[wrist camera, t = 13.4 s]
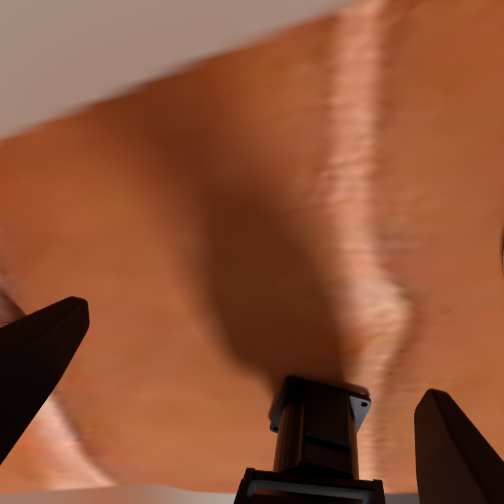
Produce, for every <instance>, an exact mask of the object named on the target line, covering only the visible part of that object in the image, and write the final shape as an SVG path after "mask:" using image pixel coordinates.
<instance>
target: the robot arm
mask: <svg viewBox="0 0 504 504" xmlns="http://www.w3.org/2000/svg"><path fill="white" fill-rule="evenodd" d="M89 323H90V321H89V309H88V302H87V301H86V300H85V299H82V298H78V297H74V296H71V297H68V298H65V299H63V300H61V301H59V302H56V303H54V304H52V305H50V306H47V307H45V308H43V309H41V310H38V311H36V312H34V313H32V314H29V315H27V316H25V317H22V318H20V319H18V320H16V321H13V322H11V323H9V324H7V325H4V326H2V327H0V465H1V464H2V462H3V461H4V459H5V458H6V457H7V455H8V454H9V452H10V451H11V450H12V448H13V447H14V445H15V444H16V442H17V441H18V440H19V438H20V437H21V435H22V434H23V432H24V431H25V430H26V428H27V427H28V425H29V424H30V422H31V421H32V420H33V418H34V417H35V415H36V414H37V412H38V411H39V410H40V408H41V407H42V405H43V404H44V403H45V401H46V400H47V398H48V397H49V395H50V394H51V393H52V391H53V390H54V388H55V387H56V385H57V384H58V382H59V381H60V379H61V377H62V376H63V374H64V372H65V370H66V369H67V367H68V365H69V363H70V361H71V360H72V358H73V356H74V354H75V352H76V351H77V349H78V347H79V345H80V343H81V342H82V340H83V338H84V336H85V334H86V333H87V331H88V328H89ZM370 407H371V399H370V398H369V397H368V396H365V395H361V394H358V393H354V392H350V391H346V390H342V389H338V388H335V387H331V386H327V385H323V384H319V383H315V382H312V381H308V380H304V379H300V378H296V377H292V376H288V377H286V378H285V379H284V382H283V385H282V389H281V392H280V395H279V398H278V401H277V404H276V407H275V411H274V414H273V417H272V420H271V424H270V430H271V431H273V432H275V433H278V436H277V444H276V451H275V458H274V466H273V471H262V470H255V468H247V469H246V472H245V475H244V478H243V479H242V480H241V483H240V486H239V489H238V492H237V495H236V498H235V501H234V504H385V496H384V489H383V482H382V480H376V479H373V481H370V480H359V468H358V450H357V432H358V430H359V428H360V426H361V424H362V422H363V420H364V419H365V417H366V415H367V413H368V411H369V409H370ZM414 426H415V455H416V477H417V486H418V493H419V500H420V504H504V461H503V460H502V459H501V458H500V456H499V455H498V454H497V453H496V451H495V450H494V449H493V448H492V447H491V445H490V444H489V443H488V442H487V440H486V439H485V438H484V437H483V436H482V434H481V433H480V432H479V431H478V429H477V428H476V427H475V426H474V424H473V423H472V422H471V421H470V420H469V418H468V417H467V416H466V415H465V413H464V412H463V411H462V410H461V408H460V407H459V406H458V405H457V404H456V402H455V401H454V400H453V399H452V397H451V396H450V395H449V394H448V393H447V392H444V391H441V390H437V389H433V388H430V389H428V390H427V391H426V393H425V394H424V396H423V398H422V399H421V401H420V402H419V404H418V405H417V407H416V409H415V413H414Z"/></svg>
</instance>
